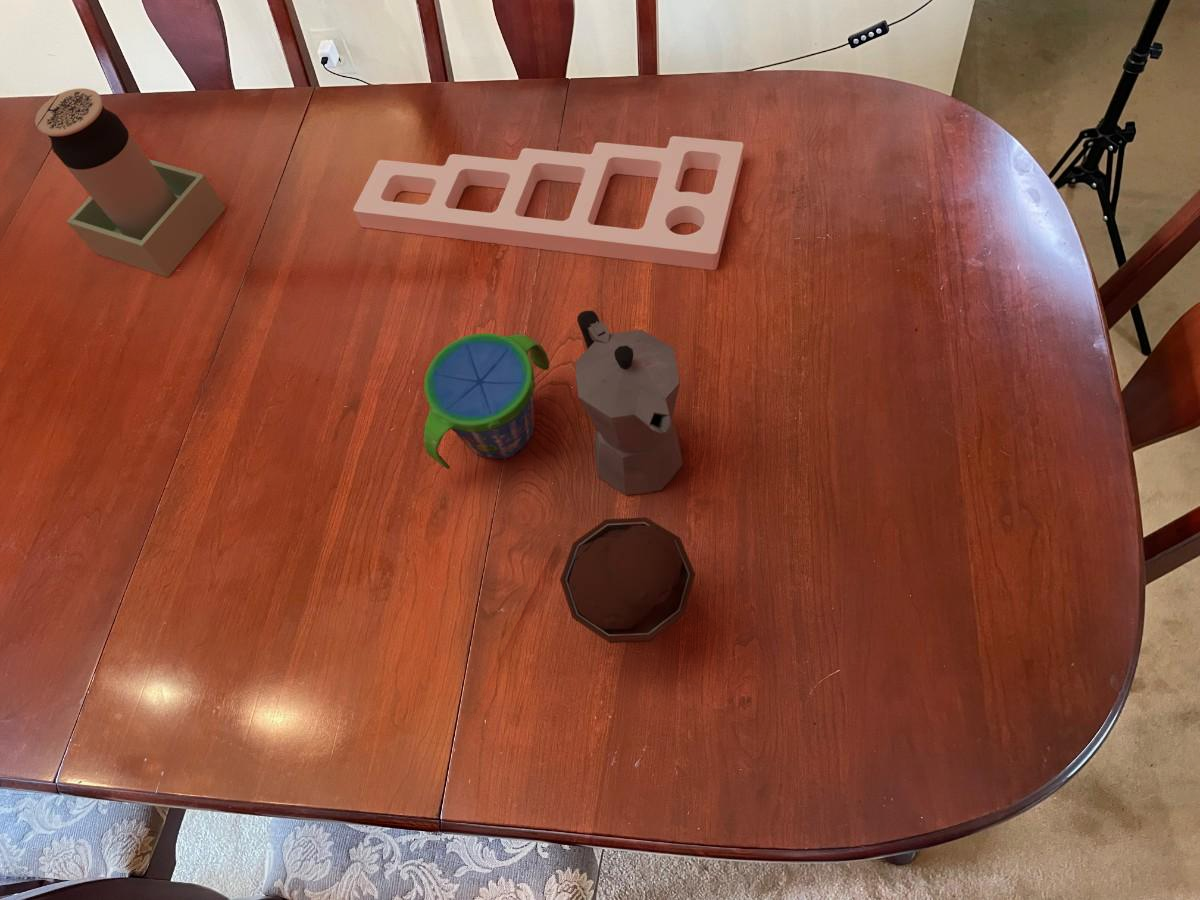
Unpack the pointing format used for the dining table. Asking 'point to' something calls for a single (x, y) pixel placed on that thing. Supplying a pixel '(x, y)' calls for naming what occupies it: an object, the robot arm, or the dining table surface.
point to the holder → (579, 228)
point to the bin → (168, 234)
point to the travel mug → (105, 160)
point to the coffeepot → (629, 405)
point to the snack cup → (483, 394)
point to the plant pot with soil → (627, 580)
